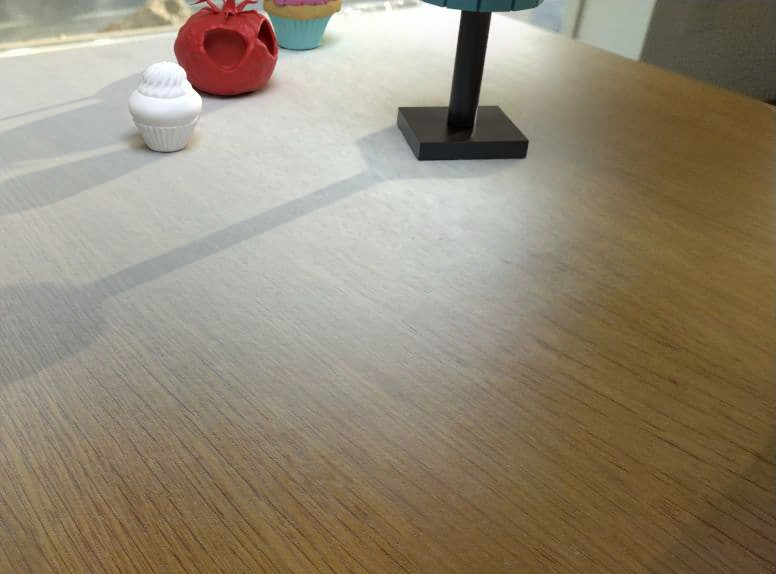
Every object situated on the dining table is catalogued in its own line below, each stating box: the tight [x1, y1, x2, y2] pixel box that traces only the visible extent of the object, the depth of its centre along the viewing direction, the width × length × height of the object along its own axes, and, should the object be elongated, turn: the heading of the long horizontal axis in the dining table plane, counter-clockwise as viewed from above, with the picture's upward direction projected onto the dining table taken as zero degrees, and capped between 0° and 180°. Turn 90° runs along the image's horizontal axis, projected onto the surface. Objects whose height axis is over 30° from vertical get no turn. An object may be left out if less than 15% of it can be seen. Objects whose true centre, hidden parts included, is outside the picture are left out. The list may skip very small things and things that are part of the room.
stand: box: [396, 10, 530, 161], centre depth 80 cm, size 9×9×14 cm
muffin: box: [127, 60, 203, 153], centre depth 81 cm, size 6×6×7 cm
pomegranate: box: [173, 0, 279, 96], centre depth 93 cm, size 10×10×9 cm
